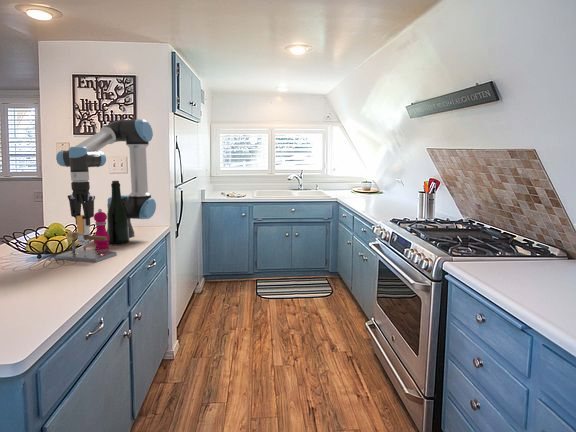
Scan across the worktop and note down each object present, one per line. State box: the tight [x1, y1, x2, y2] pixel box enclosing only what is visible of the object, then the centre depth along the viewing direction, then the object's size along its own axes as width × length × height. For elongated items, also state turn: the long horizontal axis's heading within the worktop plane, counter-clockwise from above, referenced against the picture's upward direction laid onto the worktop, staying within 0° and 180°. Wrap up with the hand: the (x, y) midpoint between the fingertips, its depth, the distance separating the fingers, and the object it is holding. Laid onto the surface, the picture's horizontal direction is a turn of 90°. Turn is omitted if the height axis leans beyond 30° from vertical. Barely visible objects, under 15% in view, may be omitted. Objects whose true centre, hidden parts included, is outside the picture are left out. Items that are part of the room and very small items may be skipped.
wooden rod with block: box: [66, 231, 107, 253], centre depth 212 cm, size 4×20×9 cm, turn 73°
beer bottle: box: [106, 180, 130, 246], centre depth 240 cm, size 10×10×33 cm
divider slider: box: [76, 214, 91, 252], centre depth 212 cm, size 4×3×17 cm
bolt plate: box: [55, 248, 117, 263], centre depth 213 cm, size 14×22×2 cm, turn 73°
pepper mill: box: [93, 208, 110, 251], centre depth 229 cm, size 7×7×20 cm
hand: (83, 232), depth 211 cm, fingers closed on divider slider, 3 cm apart
